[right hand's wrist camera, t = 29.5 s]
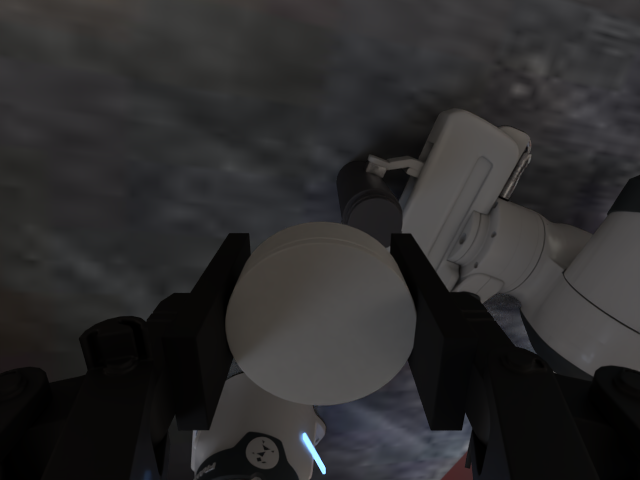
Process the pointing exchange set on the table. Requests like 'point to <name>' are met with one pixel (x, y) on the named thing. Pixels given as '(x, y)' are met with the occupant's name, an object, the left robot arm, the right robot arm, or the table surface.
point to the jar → (368, 203)
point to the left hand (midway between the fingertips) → (354, 192)
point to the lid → (321, 315)
